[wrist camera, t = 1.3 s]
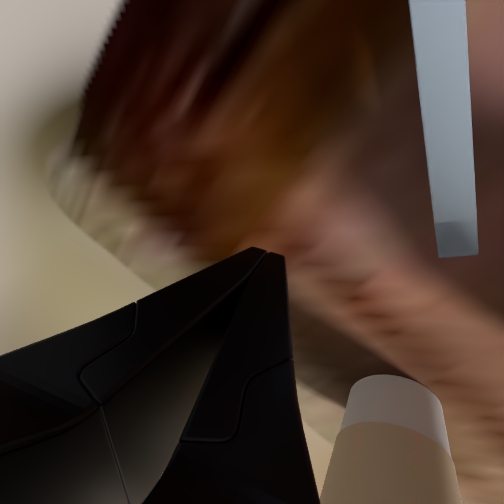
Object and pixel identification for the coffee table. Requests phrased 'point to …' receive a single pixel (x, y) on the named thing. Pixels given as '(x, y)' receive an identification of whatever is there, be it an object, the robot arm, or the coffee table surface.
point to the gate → (446, 121)
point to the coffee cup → (391, 447)
